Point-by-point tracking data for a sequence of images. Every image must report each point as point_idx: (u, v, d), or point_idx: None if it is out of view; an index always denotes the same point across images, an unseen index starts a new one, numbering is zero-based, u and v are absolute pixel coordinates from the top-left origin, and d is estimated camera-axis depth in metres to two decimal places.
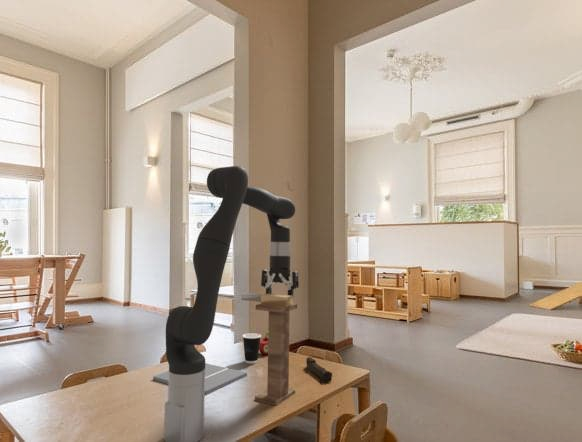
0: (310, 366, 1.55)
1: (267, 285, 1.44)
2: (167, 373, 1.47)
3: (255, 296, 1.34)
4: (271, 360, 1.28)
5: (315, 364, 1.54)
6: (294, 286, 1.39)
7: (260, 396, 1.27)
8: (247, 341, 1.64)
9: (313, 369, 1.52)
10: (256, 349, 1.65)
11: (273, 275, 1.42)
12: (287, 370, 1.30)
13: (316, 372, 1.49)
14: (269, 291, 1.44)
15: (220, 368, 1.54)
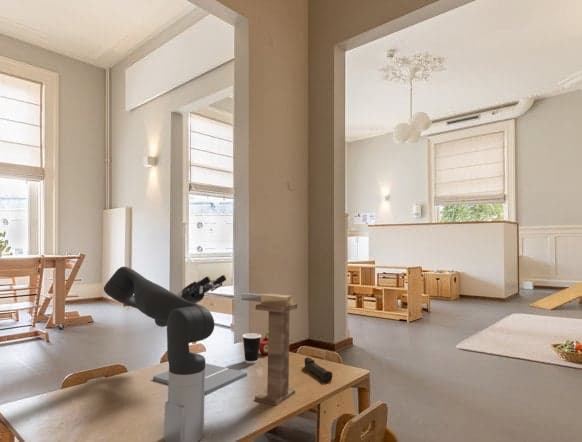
0: (309, 366, 1.55)
1: None
2: (167, 373, 1.47)
3: (255, 296, 1.34)
4: (271, 360, 1.28)
5: (314, 364, 1.53)
6: None
7: (260, 396, 1.27)
8: (247, 341, 1.64)
9: (312, 369, 1.52)
10: (256, 349, 1.65)
11: None
12: (287, 370, 1.30)
13: (316, 372, 1.49)
14: None
15: (220, 368, 1.54)
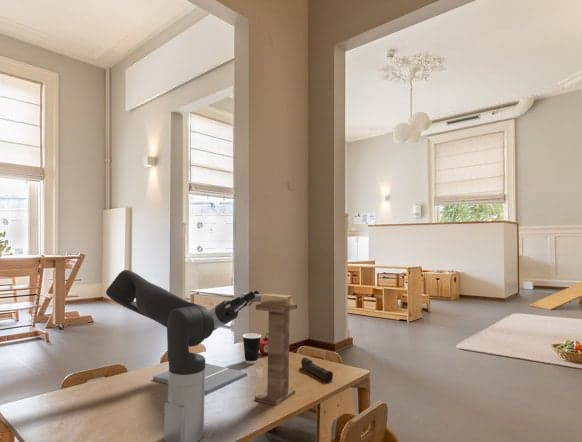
0: (307, 367, 1.54)
1: None
2: (167, 373, 1.47)
3: (255, 296, 1.34)
4: (271, 360, 1.28)
5: (313, 364, 1.53)
6: None
7: (260, 396, 1.27)
8: (247, 341, 1.64)
9: (311, 369, 1.52)
10: (256, 349, 1.65)
11: None
12: (287, 370, 1.30)
13: (315, 372, 1.49)
14: None
15: (220, 368, 1.54)
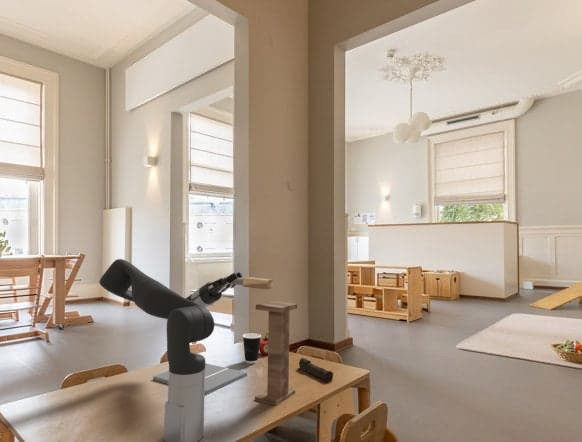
0: (306, 367, 1.54)
1: None
2: (167, 373, 1.47)
3: (237, 279, 1.39)
4: (271, 360, 1.28)
5: (312, 365, 1.53)
6: None
7: (260, 396, 1.27)
8: (247, 341, 1.64)
9: (310, 370, 1.51)
10: (256, 349, 1.65)
11: None
12: (287, 370, 1.30)
13: (315, 373, 1.49)
14: None
15: (220, 368, 1.54)
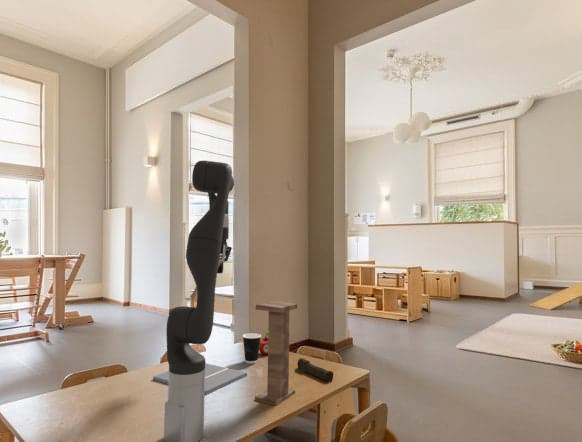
0: (305, 367, 1.54)
1: None
2: (167, 373, 1.47)
3: None
4: (271, 360, 1.28)
5: (311, 365, 1.53)
6: (227, 259, 1.48)
7: (260, 396, 1.27)
8: (247, 341, 1.64)
9: (310, 370, 1.51)
10: (256, 349, 1.65)
11: None
12: (287, 370, 1.30)
13: (315, 373, 1.49)
14: None
15: (220, 368, 1.54)
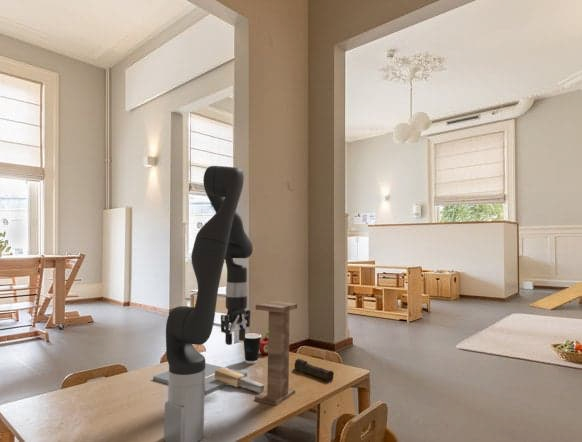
0: (303, 368, 1.53)
1: (231, 330, 1.36)
2: (167, 373, 1.47)
3: (245, 386, 1.35)
4: (271, 360, 1.28)
5: (309, 365, 1.52)
6: (248, 324, 1.44)
7: (260, 396, 1.27)
8: (247, 341, 1.64)
9: (309, 370, 1.51)
10: (256, 349, 1.65)
11: (237, 317, 1.37)
12: (287, 370, 1.30)
13: (314, 373, 1.48)
14: None
15: None
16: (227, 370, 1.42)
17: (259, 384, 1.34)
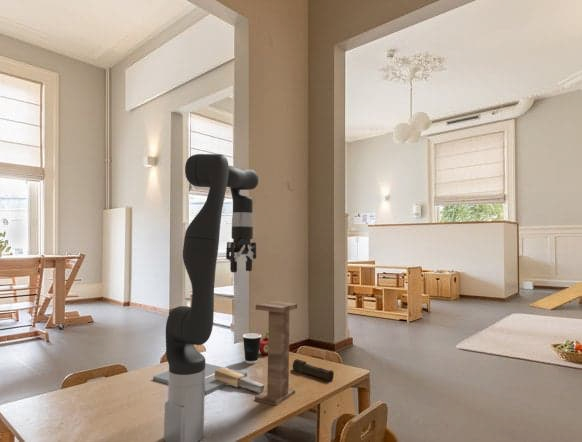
0: (302, 368, 1.52)
1: (236, 258, 1.35)
2: (167, 373, 1.47)
3: (245, 386, 1.35)
4: (271, 360, 1.28)
5: (309, 365, 1.52)
6: (255, 256, 1.45)
7: (260, 396, 1.27)
8: (247, 341, 1.64)
9: (308, 370, 1.50)
10: (256, 349, 1.65)
11: (243, 246, 1.38)
12: (287, 370, 1.30)
13: (314, 373, 1.48)
14: None
15: None
16: (227, 370, 1.42)
17: (259, 384, 1.34)
